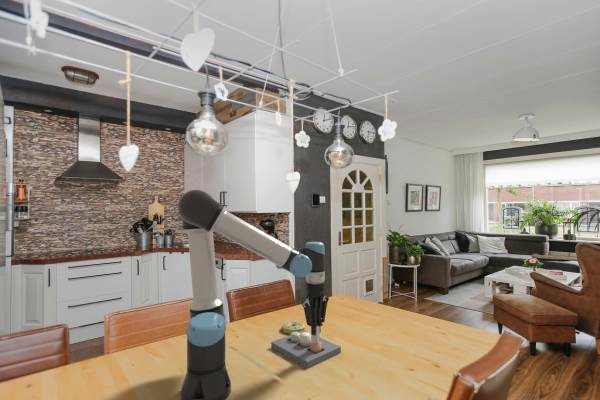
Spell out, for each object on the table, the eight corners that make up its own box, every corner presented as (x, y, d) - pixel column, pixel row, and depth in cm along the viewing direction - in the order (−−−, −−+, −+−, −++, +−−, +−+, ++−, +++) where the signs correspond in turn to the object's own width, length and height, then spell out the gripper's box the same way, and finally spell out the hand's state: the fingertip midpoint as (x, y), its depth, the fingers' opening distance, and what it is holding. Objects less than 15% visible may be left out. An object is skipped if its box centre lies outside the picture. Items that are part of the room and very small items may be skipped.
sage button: (295, 346, 126) (295, 337, 126) (288, 343, 130) (288, 333, 130) (303, 343, 129) (303, 334, 129) (296, 340, 133) (296, 330, 133)
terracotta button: (315, 357, 117) (315, 346, 117) (307, 353, 121) (307, 342, 121) (323, 353, 120) (323, 343, 120) (315, 349, 124) (315, 339, 124)
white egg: (305, 347, 122) (305, 337, 122) (297, 344, 125) (297, 334, 125) (313, 344, 125) (313, 334, 125) (305, 340, 128) (305, 331, 128)
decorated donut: (308, 330, 148) (308, 322, 148) (297, 338, 138) (297, 330, 138) (289, 325, 153) (289, 318, 153) (277, 333, 143) (277, 325, 143)
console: (307, 370, 111) (307, 362, 111) (271, 349, 127) (271, 342, 127) (340, 354, 123) (340, 346, 123) (303, 337, 139) (303, 330, 139)
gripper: (309, 286, 114) (310, 351, 113) (333, 280, 123) (334, 340, 122) (296, 282, 120) (297, 344, 119) (320, 277, 128) (320, 334, 128)
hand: (316, 342), depth 121 cm, fingers closed
